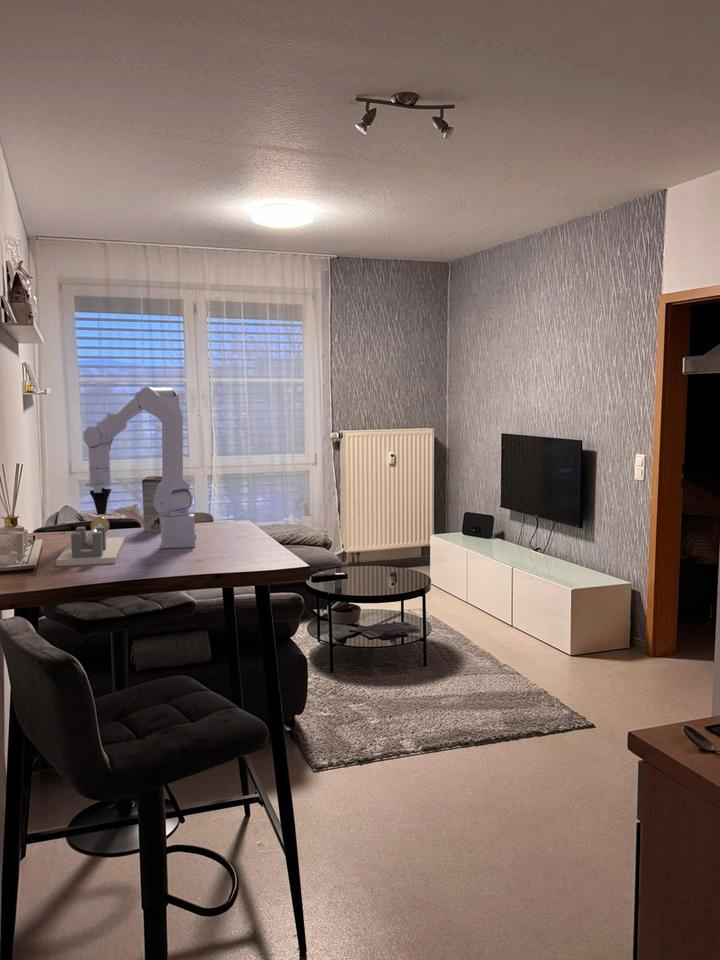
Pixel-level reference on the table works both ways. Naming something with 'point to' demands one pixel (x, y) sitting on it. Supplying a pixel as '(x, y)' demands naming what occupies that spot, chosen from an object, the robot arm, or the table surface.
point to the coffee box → (150, 504)
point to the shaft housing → (91, 548)
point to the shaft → (96, 522)
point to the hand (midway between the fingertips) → (101, 514)
